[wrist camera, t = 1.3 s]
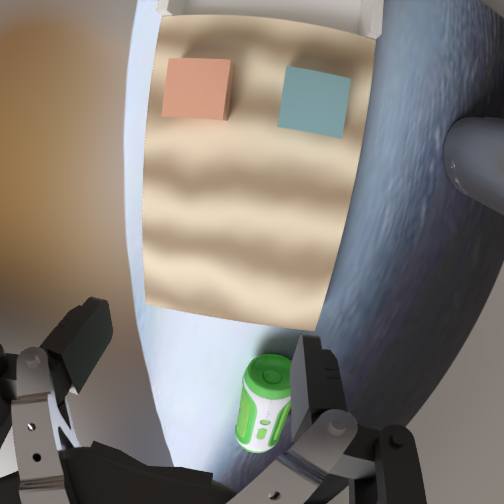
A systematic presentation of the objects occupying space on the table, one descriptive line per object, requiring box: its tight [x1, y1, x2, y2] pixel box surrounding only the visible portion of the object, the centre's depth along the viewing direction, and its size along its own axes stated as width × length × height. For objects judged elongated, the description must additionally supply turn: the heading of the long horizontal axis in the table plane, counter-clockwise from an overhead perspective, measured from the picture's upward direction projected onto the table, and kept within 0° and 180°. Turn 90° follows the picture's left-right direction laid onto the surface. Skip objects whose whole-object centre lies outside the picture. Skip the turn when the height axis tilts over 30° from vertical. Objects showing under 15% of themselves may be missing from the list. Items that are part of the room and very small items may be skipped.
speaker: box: [235, 354, 292, 453], centre depth 38 cm, size 18×7×8 cm, turn 174°
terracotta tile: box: [161, 58, 235, 121], centre depth 21 cm, size 5×5×2 cm
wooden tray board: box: [142, 15, 376, 331], centre depth 27 cm, size 30×19×4 cm, turn 173°
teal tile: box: [277, 66, 351, 139], centre depth 21 cm, size 5×5×2 cm
